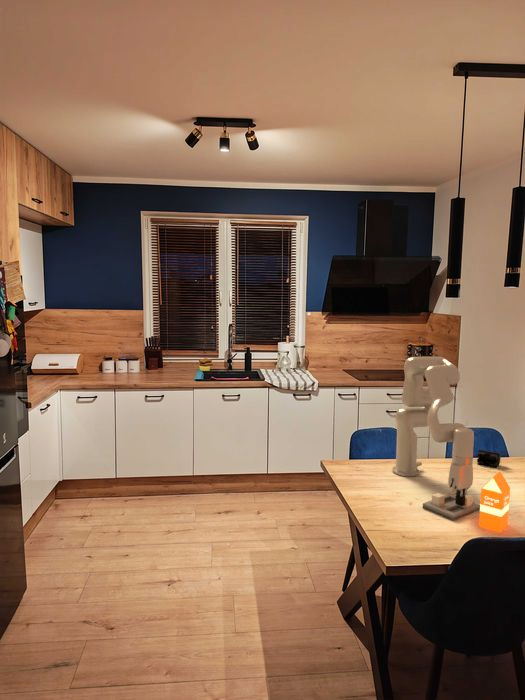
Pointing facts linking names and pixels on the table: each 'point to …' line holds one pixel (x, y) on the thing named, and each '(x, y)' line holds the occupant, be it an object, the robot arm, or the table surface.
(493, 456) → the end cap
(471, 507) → the switch board
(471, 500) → the tab
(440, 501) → the tab
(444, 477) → the table surface
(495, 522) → the orange juice
